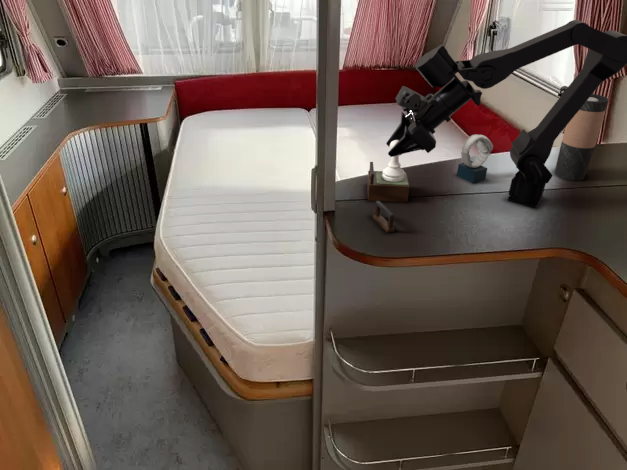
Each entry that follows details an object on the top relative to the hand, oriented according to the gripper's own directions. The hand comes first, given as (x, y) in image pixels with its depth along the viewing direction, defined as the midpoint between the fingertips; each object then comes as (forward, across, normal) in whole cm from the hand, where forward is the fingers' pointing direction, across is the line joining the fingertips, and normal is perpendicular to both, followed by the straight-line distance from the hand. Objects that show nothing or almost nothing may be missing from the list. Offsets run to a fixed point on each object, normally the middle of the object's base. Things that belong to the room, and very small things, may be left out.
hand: (388, 150), depth 118 cm
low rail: (+8, +15, +7) cm, 19 cm away
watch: (-8, -12, +24) cm, 28 cm away
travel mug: (-26, -16, +42) cm, 52 cm away
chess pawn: (+4, 0, +6) cm, 7 cm away
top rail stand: (+7, 0, +8) cm, 11 cm away
